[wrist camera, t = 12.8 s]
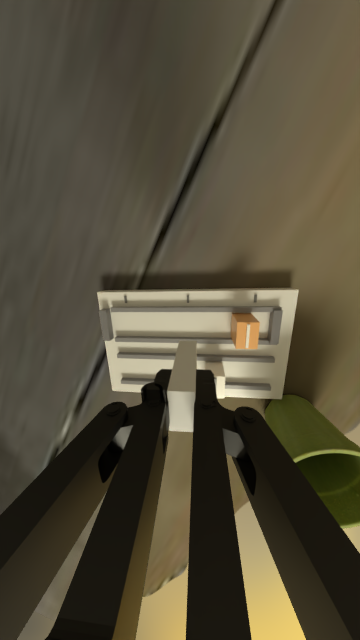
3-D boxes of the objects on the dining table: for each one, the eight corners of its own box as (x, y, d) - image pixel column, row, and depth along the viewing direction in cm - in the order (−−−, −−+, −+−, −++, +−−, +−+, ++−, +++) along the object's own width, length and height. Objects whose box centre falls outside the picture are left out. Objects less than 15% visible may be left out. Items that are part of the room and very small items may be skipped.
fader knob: (231, 313, 24) (237, 322, 20) (250, 313, 24) (260, 323, 20) (230, 335, 25) (235, 349, 21) (248, 336, 25) (257, 350, 21)
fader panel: (104, 290, 28) (78, 297, 22) (291, 287, 25) (319, 295, 19) (117, 383, 32) (99, 410, 26) (276, 390, 29) (295, 422, 23)
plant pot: (291, 366, 28) (347, 430, 17) (343, 413, 29) (425, 500, 19) (233, 410, 31) (249, 487, 21) (282, 451, 33) (320, 542, 22)
